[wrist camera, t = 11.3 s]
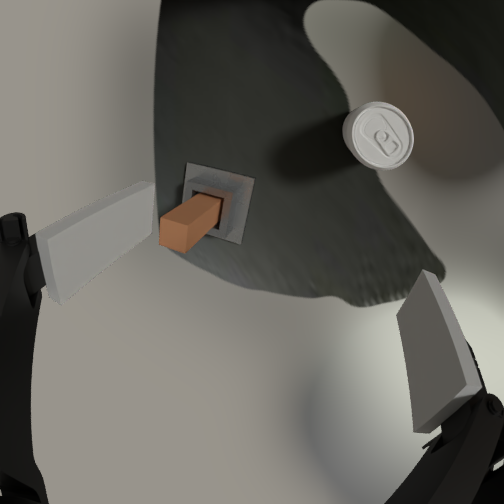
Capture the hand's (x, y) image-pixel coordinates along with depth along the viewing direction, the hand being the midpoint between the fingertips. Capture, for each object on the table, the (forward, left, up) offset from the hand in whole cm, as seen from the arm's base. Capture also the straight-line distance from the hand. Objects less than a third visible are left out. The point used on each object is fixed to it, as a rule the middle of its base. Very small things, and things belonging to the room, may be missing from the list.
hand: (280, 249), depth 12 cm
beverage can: (-6, +7, -33) cm, 34 cm away
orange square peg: (+12, -14, -32) cm, 37 cm away
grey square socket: (+12, -14, -33) cm, 37 cm away
